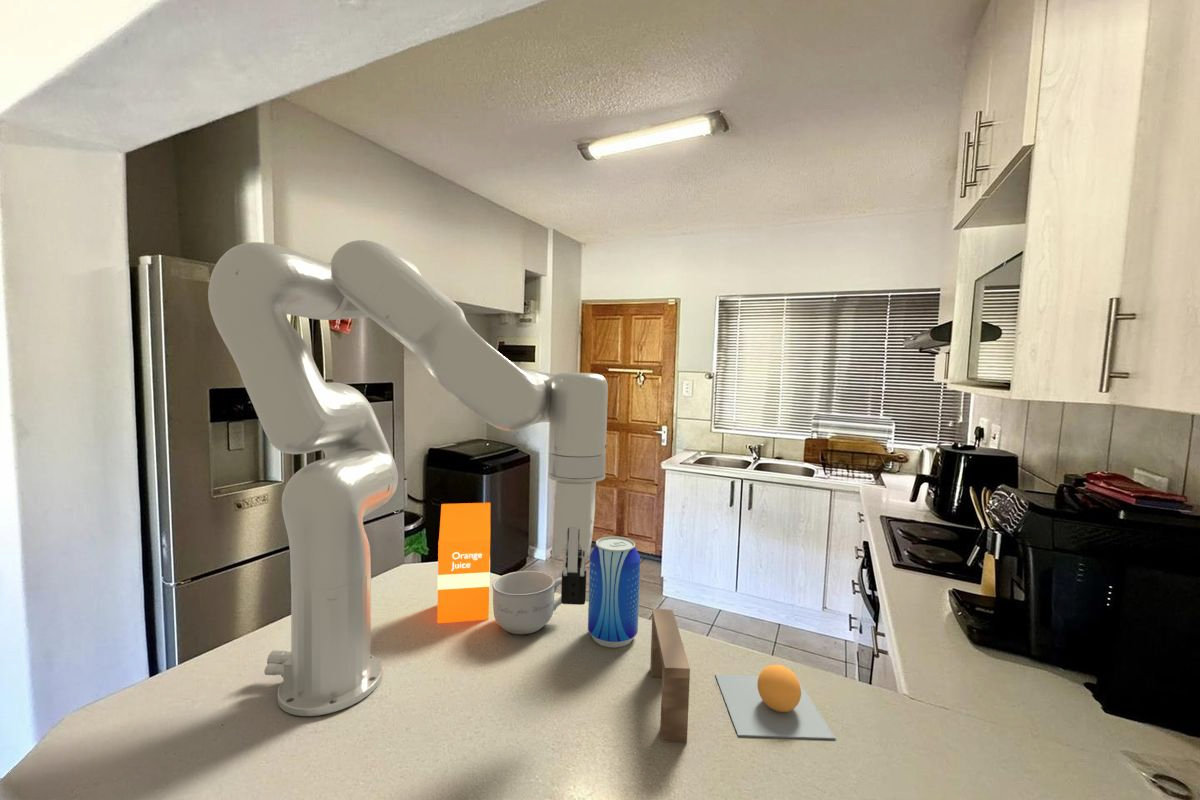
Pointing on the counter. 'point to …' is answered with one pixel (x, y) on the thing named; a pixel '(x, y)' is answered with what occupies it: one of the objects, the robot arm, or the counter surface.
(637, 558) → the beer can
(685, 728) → the bridge
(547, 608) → the teacup
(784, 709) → the ball
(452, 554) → the orange juice
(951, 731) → the counter surface
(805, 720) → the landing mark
